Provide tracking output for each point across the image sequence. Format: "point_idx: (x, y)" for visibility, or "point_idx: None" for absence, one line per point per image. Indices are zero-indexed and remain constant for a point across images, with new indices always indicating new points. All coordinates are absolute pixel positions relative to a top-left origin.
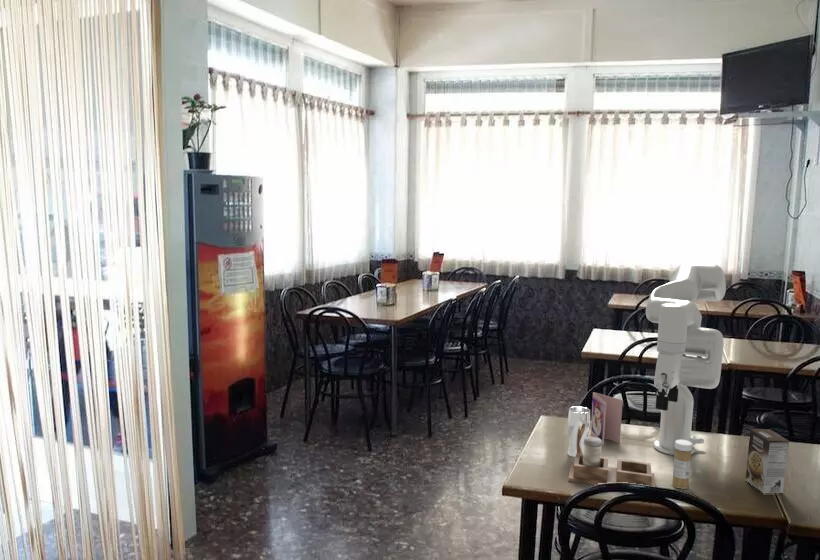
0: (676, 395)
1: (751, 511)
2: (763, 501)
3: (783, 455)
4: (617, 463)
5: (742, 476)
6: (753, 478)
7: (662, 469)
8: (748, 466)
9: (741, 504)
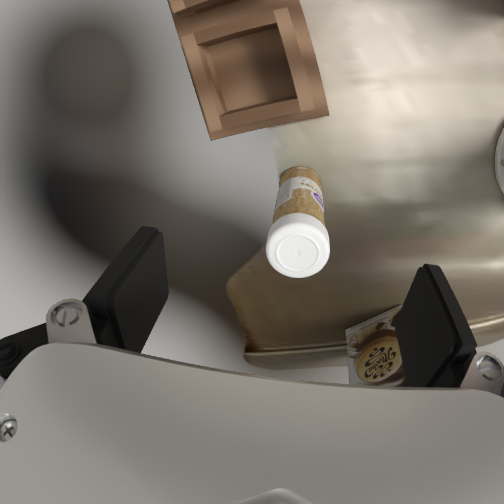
0: (404, 361)
1: (253, 314)
2: (312, 329)
3: None
4: (246, 17)
5: None
6: (377, 328)
7: (394, 130)
8: None
9: (275, 301)
